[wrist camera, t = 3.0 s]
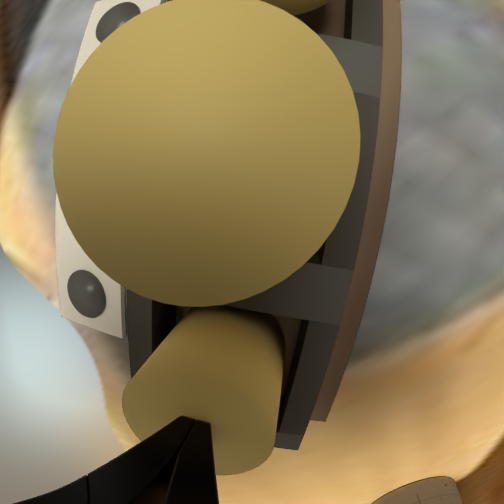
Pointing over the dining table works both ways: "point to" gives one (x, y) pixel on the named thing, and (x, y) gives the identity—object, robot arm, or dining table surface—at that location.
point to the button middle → (206, 150)
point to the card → (67, 248)
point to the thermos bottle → (424, 493)
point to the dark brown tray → (338, 242)
